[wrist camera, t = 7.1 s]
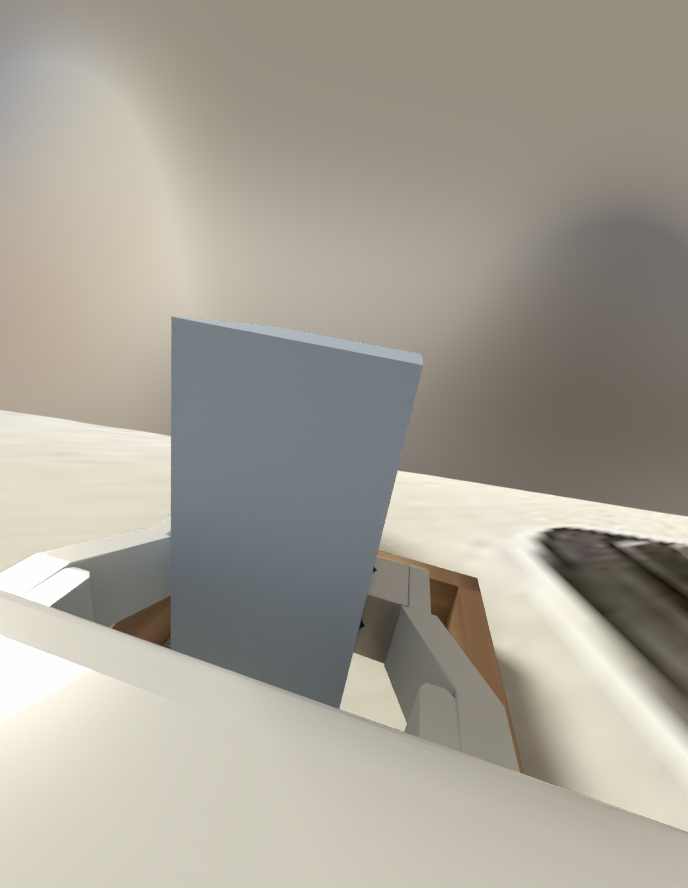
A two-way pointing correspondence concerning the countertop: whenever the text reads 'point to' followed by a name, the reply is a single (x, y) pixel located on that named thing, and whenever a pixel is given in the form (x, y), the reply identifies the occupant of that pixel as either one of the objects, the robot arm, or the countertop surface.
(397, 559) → the frame
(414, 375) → the slate block
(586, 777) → the countertop surface
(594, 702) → the countertop surface
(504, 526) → the countertop surface
